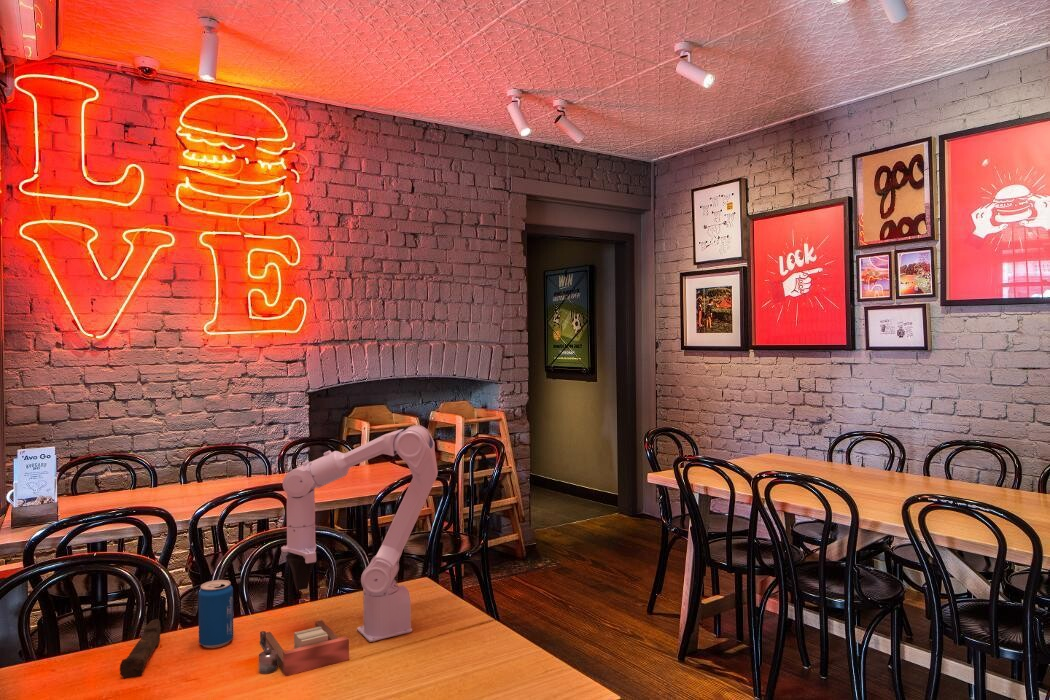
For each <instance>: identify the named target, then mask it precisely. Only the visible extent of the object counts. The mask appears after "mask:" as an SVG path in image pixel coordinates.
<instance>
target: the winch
mask: <svg viewBox="0 0 1050 700" xmlns="http://www.w3.org/2000/svg"><path fill="white" fill-rule="evenodd" d="M259 637H260V638H259V646H260V647H261V648H262V650H263V651H261V652H260V653H258V672H259V673H260V674H261V675H262V674H264V675H265V674H272V673H275V672H276V671H277V670H278V664H277V651H275V650H271V648H270V646H269V645H268V643H267V642H266V631H265V630H262V631H260V632H259Z"/></svg>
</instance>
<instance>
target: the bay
mask: <svg viewBox="0 0 1050 700" xmlns="http://www.w3.org/2000/svg"><path fill="white" fill-rule="evenodd" d="M314 623H315V624H314V628H316V627H321V628H322V630H323V631H324V632H326V633H327V635H328V641H325V642H321V643H317V644H313V645H308V646H304V647H300V648H296V649H294V648H293V649H289V650H284V649H283V648H282V646H281V645H280V643H279V642H278V640H277V639H276V637H275V636H274V635H273V634H272V632H271V631H267V632H266V642H267V643H268V645H269V646H270V648H271V650H275V651H277V667H279V670H280V671H281V672H282V673H283V675H284V676H285V677H286V676H290V675H291V676H292V675H295V674H299V673H302V672H306V671H311V670H314V669H318V668H322V667H326V666H329V665H333V664H338V663H341V662H345V661H349V660H350V639H349V637H348V636H347V635H346V636H343V637H338V636H337V635H336V634H335V632H333V630H332V629H331V628H330V627H329V626H328V625H327V624H326V622H324V620H322V619H321V620H316V621H314Z"/></svg>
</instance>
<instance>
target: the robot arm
mask: <svg viewBox="0 0 1050 700" xmlns="http://www.w3.org/2000/svg"><path fill="white" fill-rule="evenodd" d="M435 444H436V443H435V441H434V439H433V437H432V435H431V434H430V431H429V430H428V429H427V428H426V427H424V426H423V425H421V424H420V425H419V424H415V425H410V426H409V427H406V429H404V428H402V429H401V428H400V429H397V430H394V431H392V432H388V433H385V434H383V435H380V436H378V437H377V438H374V439H373V440H370V441H367V442H365V443H364V444H362V445H360V446H358V447H356V448H354V449H352V450H349V451H347V452H345V453H344V452H340V451H338V450H334V451H331V450H328V451H325V452H324V453H323V456H320V457H318V458H317V459H314V460H312V461H309V460H306V461H305V462H303V463H302V465H301V466H298V467H295V468H294V469H291V470H290V471H288V472H287V473H286V474H285V475H284V477H283V480H282V488H283V491H284V492H285V493H286V546H285V545H284V546H281V547H280V550H281V552H282V553H290V554H287V555H285V559H286V560H287V562H288V564H289V567H290V569H291V573H292V577H293V581H294V582H293V583H294V586H295V589H296V590H297V591H302V590H307V589H308V587H309V584H310V579H311V575H312V570H313V568H314V566H315V564H316V563H317V560H318V555H317V552H316V550H317V543H316V500H315V489H316V488H321V487H323V486H326V485H328V484H331V483H333V482H335V481H337V480H339V479H342V478H344V477H346V476H348V474H349V471H350V468H352V467H353V466H356V465H358V464H361V463H364V462H366V461H369V460H370V459H374V458H375V457H378V456H380V455H388V456H390V457H395V456H396V455H398V456H399V457H400V459H402V461H404V463H406V465H407V467H408V468H409V471H410V473H411V475H412V478H411V481H410V483H409V485H408V488H407V490H406V492H405V494H404V496H403V498H402V501H401V502H400V504H399V507H398V508H397V511H396V513H395V515H394V517H393V520H392V522H391V524H390V525H389V528H388V530H387V531H386V532H387V533H386V534H385V537H384V539H383V540H382V543H381V545H380V547H379V549H378V551H377V553H376V555H373V557H372V559H371V560H370V563H369V564H368V565H367V567H366V568H364V570H363V572H362V574H361V575H360V576H361V577H360V583H361V587H362V588H363V590H362V591H363V595H362V596H363V597H362V599H363V603H362V604H363V610H362V611H363V625H360V626H358V627H356V630H357V632H359V633H360V635H362V636H363V637H364V638H365V639H366V640H367V641H368V642H370V643H373V642H376V641H380V640H384V639H388V638H392V637H397V636H400V635H404V634H408V633H412V632H413V629H412V624H411V623H412V618H411V617H412V612H411V610H412V609H411V608H412V607H411V606H412V605H411V604H412V603H411V602H412V601H411V596H410V595H411V594H410V591H409V590H408V588H407V586H405V585H404V584H402V585H398V583H397V581H396V579H395V578H396V576H397V575H398V572H399V570H400V563H399V562H400V558H401V556H402V553H403V550H404V548H405V546H406V544H407V542H408V540H409V537H410V535H411V533H412V531H413V529H414V527H415V524H416V523H417V521H418V518H419V516H420V514H421V512H422V509H423V507H424V505H425V503H426V501H427V500H428V497H429V495H430V492H431V490H432V488H433V486H434V484H435V482H436V480H437V477H438V473H439V471H438V464H437V456H436V451H435V449H436V448H435V447H436V446H435Z"/></svg>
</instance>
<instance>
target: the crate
mask: <svg viewBox="0 0 1050 700" xmlns="http://www.w3.org/2000/svg"><path fill="white" fill-rule="evenodd" d="M293 640H294V641H293V642H294V643H293V646H294V647H293V649H296V648H300V647H304V646H308V645H313V644H317V643H321V642H325V641H328V635H327V633H326V632H324V631H323V630H322V628H321V627H316V628H315V627H314V628H313V627H312V628H308V629H304V630H300V631H299V630H298V631H295V632H293Z"/></svg>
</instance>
